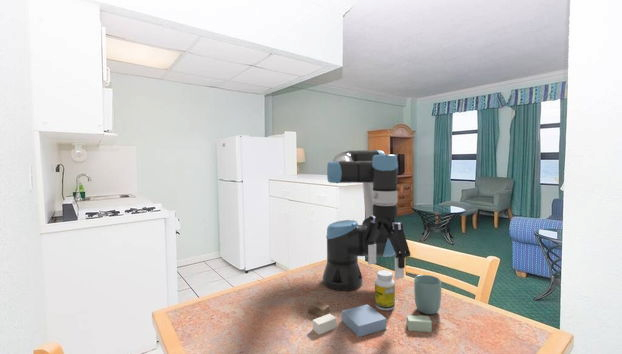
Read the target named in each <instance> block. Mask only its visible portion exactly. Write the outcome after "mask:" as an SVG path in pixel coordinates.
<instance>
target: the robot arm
mask: <svg viewBox="0 0 622 354" xmlns="http://www.w3.org/2000/svg"><path fill="white" fill-rule="evenodd" d="M398 168H399V164H398V156H397V154H386V153H385V151H383V150H380V149H379V150H378V149H373V150H370V149H369V150H367V149H366V150H347V151H343V152H341V153H338V154H336V155H335V156H334V157H333V159H332V161H329V162H327V167H326V170H327V171H326V177H327V182H328V183H330V184H346V183H347V184H349V183H350V184H352V183H353V184H354V183H355V184H360V183H362V189H363V199H364V214H365V219H364V220H363V221H362V224H358V221H357V220H354V219H353V220H351V219H346V220H339V221H335V222H332V223H330V224H328V226H327V229H326V236H325V237H326V256H327V257H326V265H325V268H324V271H323V274H322V284H323V285H324V286H325V287H327V288H328V289H332V290H334V291H335V290H336V291H352V290H356V289H358V288H360V287H361V286H362V285H363V274H362V272H361V268H360V266H359V263H358V260H359V258H358V257H367V260H368V261H367V262H368V265H369V266H370V265H375V264H377V257H381V258H382V257H383V258H385V257H390V258H391V257H394V279H395V280H399V279H404V278H405V276H404V275H405V271H404V270H405V266H406V264H405V262H406V257H407V258H408V257H410V256H412V255H411V252H410V248H409V245H408V242H407V238H406V235H405V231H404V224H403V222H401V221H400V222H396V220H395V219H396V218H397V216H398V205H397V203H398V200H399V199H398Z"/></svg>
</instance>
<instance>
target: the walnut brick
mask: <svg viewBox="0 0 622 354" xmlns="http://www.w3.org/2000/svg"><path fill="white" fill-rule="evenodd" d="M330 307H331V306H330V305H328V304H326V303H323V302H320V301H317V300H312V301H310V302H309V303H307V312H308V314H310V315H313V316H315V317H317V318H319V317H322V316H324V315H327V314H331V313H330Z"/></svg>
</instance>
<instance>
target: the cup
mask: <svg viewBox="0 0 622 354" xmlns="http://www.w3.org/2000/svg"><path fill="white" fill-rule="evenodd" d="M413 281H414V283H413V284H414V286H413V291H414V292H413V294H414V295H413V297H414V303H415V307H416V308H417V310H418V311H419V312H421V313H422V314H425V315H435V314H437V313H438V312H439V311H440V309H441V301H442V281H441V279H440V278H439V277H437V276H434V275H429V274H418V275H416V276H415V277H414V280H413Z"/></svg>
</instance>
